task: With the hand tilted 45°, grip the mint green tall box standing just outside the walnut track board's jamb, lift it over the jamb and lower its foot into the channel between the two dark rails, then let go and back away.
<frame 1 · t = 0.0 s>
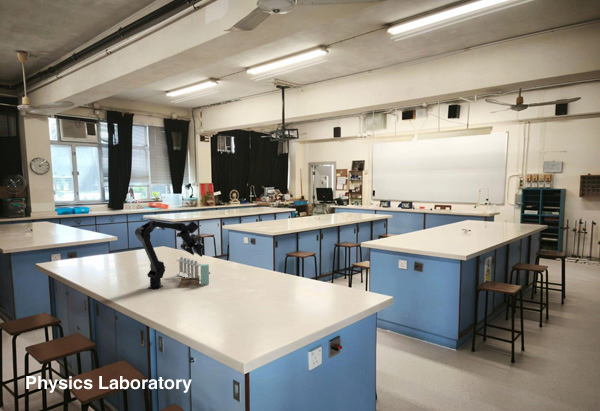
hand: (197, 255, 238), 15 cm above the counter, tool tilted 35°, fingers open, 9 cm apart
test tube rack: (188, 278, 236), on the counter
mint green tall box: (204, 284, 222), on the counter
track board: (189, 284, 220), on the counter
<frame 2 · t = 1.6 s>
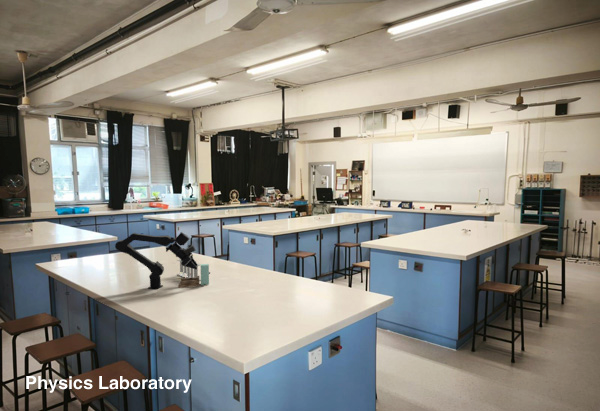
hand: (196, 267, 220), 11 cm above the counter, tool tilted 45°, fingers open, 9 cm apart
nothing on the counter moved.
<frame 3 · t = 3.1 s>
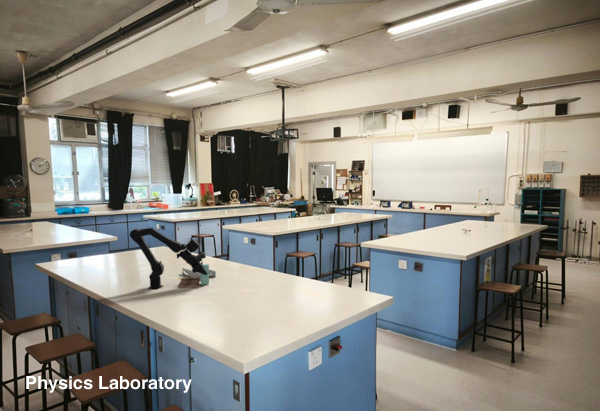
hand: (207, 273, 222), 7 cm above the counter, tool tilted 45°, fingers closed on mint green tall box, 3 cm apart
test tube rack: (191, 274, 238), point 2 cm above the counter
mint green tall box: (204, 284, 222), on the counter, touching gripper
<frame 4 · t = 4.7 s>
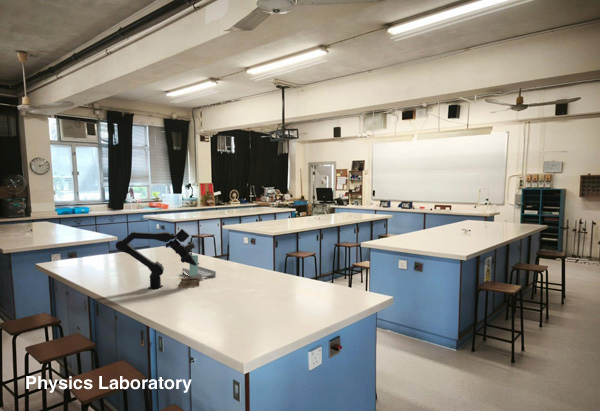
hand: (196, 264, 220), 13 cm above the counter, tool tilted 45°, fingers closed on mint green tall box, 3 cm apart
mint green tall box: (193, 274, 220), point 6 cm above the counter, touching gripper
everything else where it was.
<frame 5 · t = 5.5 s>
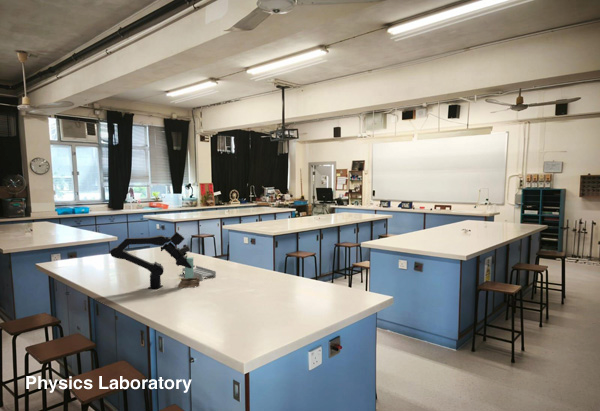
hand: (191, 267, 220), 11 cm above the counter, tool tilted 45°, fingers closed on mint green tall box, 3 cm apart
mint green tall box: (189, 277, 220), point 5 cm above the counter, touching gripper
everything else where it was.
when the fingers open (9 cm above the counter, at t = 6.2 s): mint green tall box drops 1 cm, resting on track board.
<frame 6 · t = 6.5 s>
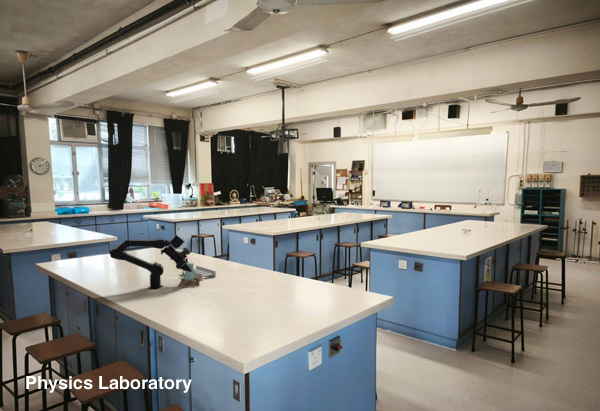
hand: (191, 270, 220), 9 cm above the counter, tool tilted 45°, fingers open, 7 cm apart
mint green tall box: (189, 282, 220), point 1 cm above the counter, touching track board
everything else where it was.
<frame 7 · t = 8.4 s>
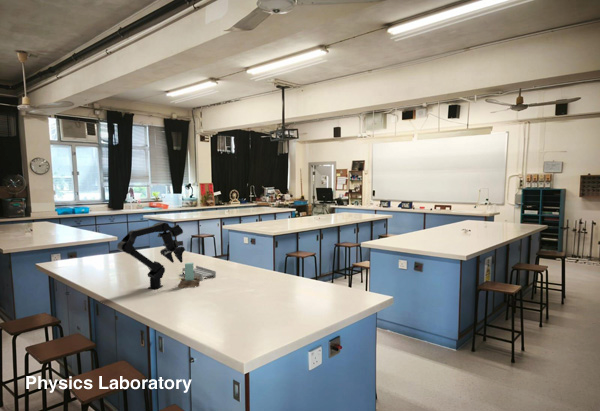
hand: (177, 262, 223), 14 cm above the counter, tool tilted 20°, fingers open, 9 cm apart
nothing on the counter moved.
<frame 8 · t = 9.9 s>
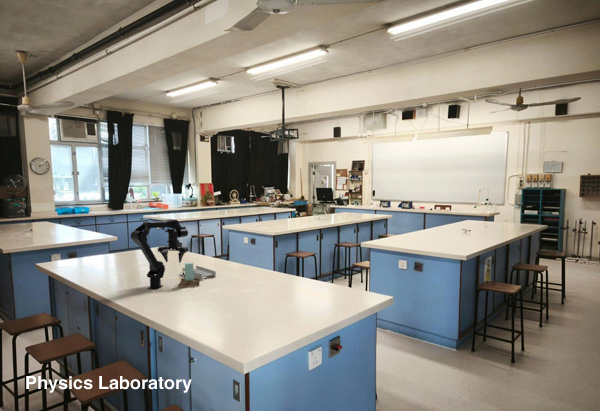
hand: (173, 262, 225), 13 cm above the counter, tool pointing down, fingers open, 9 cm apart
nothing on the counter moved.
at the end: mint green tall box 0.0 cm from the track board (horizontally); mint green tall box point 1.2 cm above the counter; mint green tall box tilted 0° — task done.
